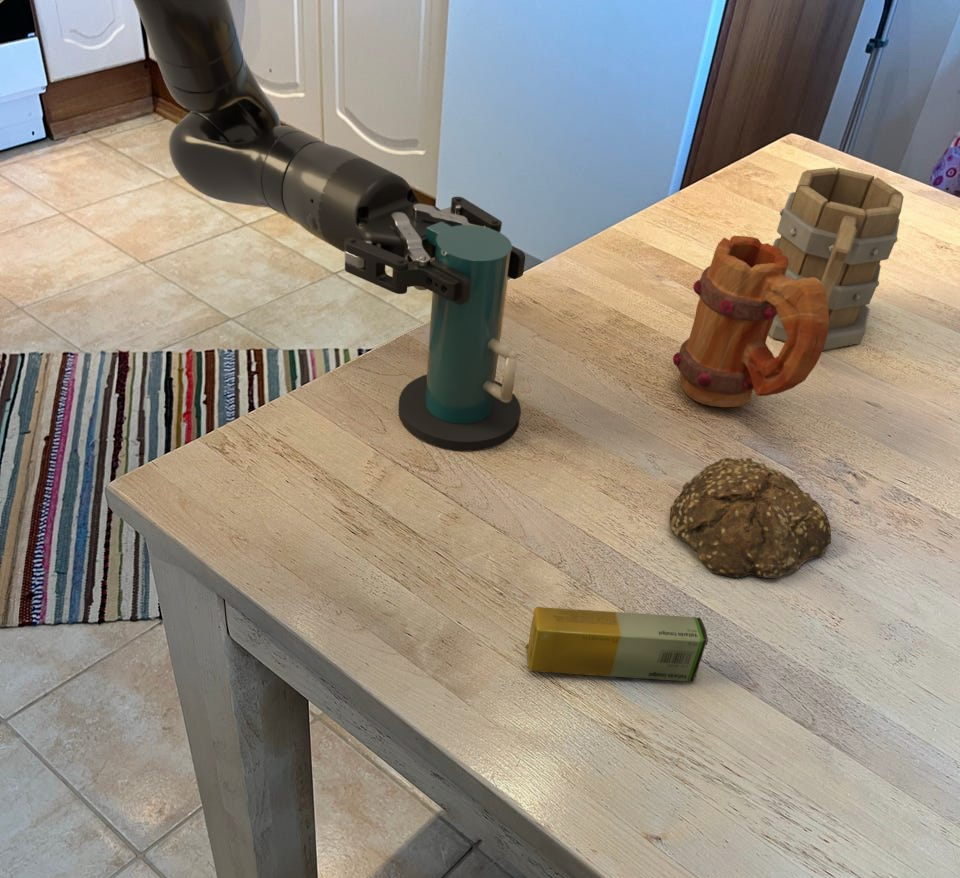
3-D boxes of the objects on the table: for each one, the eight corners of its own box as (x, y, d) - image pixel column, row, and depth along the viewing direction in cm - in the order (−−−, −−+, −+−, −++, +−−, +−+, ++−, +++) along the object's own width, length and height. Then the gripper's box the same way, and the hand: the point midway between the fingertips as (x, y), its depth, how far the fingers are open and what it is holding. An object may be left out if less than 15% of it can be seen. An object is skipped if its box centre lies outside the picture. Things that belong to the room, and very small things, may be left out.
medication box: (688, 657, 71) (703, 615, 68) (696, 683, 69) (711, 641, 66) (525, 646, 70) (533, 603, 67) (527, 673, 68) (536, 629, 65)
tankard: (756, 279, 112) (800, 142, 101) (867, 307, 110) (923, 170, 99) (724, 363, 99) (770, 216, 88) (849, 397, 97) (912, 251, 86)
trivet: (383, 435, 86) (383, 426, 85) (416, 370, 93) (416, 361, 92) (506, 462, 85) (507, 452, 84) (529, 393, 92) (530, 384, 91)
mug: (649, 374, 96) (687, 224, 85) (715, 360, 99) (760, 213, 88) (740, 461, 88) (795, 307, 77) (809, 442, 91) (871, 291, 80)
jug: (400, 394, 88) (407, 231, 77) (446, 371, 91) (459, 211, 80) (482, 446, 84) (503, 282, 73) (527, 420, 87) (553, 259, 76)
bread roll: (729, 465, 87) (745, 418, 84) (845, 540, 82) (868, 493, 78) (635, 521, 81) (648, 472, 77) (754, 606, 75) (775, 559, 72)
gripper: (281, 179, 78) (435, 261, 71) (409, 138, 85) (558, 208, 79) (286, 269, 83) (430, 353, 76) (405, 223, 91) (545, 295, 84)
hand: (494, 279), depth 78 cm, fingers closed on jug, 6 cm apart
